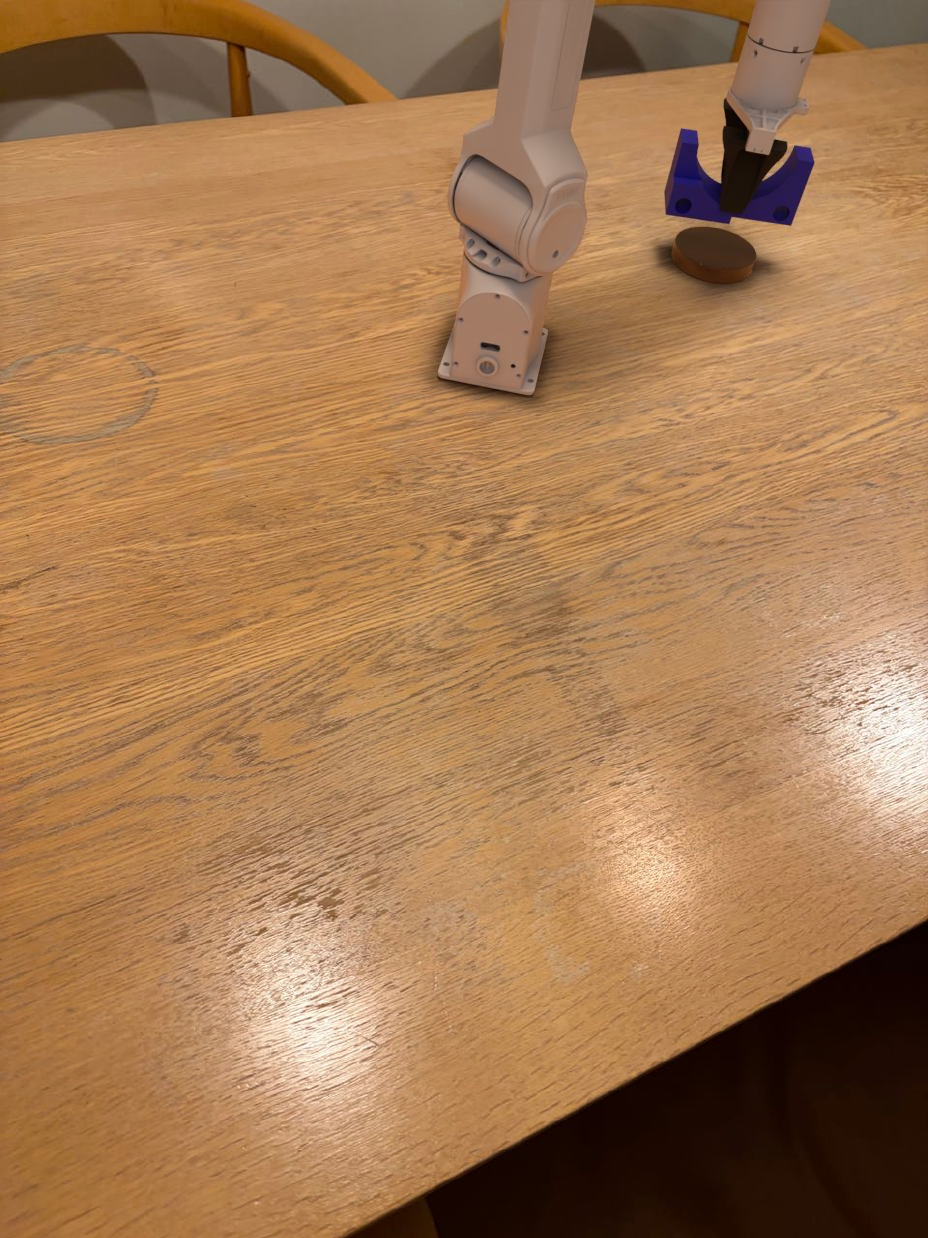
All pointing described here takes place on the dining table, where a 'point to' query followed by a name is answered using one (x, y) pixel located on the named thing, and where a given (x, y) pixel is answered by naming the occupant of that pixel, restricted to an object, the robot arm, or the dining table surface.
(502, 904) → the dining table surface
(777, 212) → the blue clamp bracket
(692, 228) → the walnut chip
